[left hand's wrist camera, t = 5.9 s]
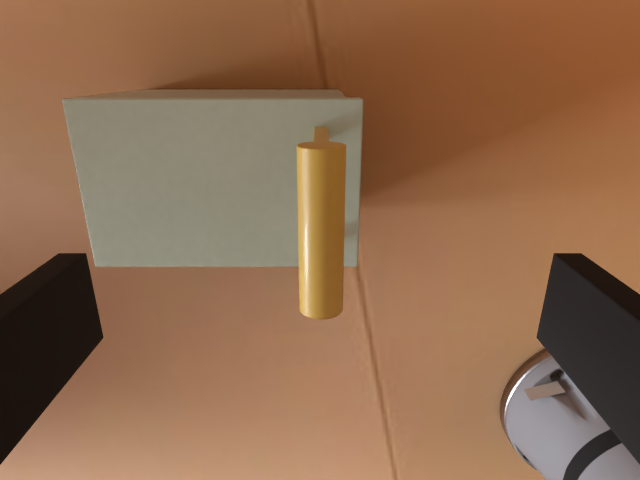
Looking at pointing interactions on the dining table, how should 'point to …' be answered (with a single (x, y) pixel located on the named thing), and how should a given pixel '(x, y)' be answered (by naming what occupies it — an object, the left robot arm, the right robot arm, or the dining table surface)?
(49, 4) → the dining table surface
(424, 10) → the dining table surface
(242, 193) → the lid
